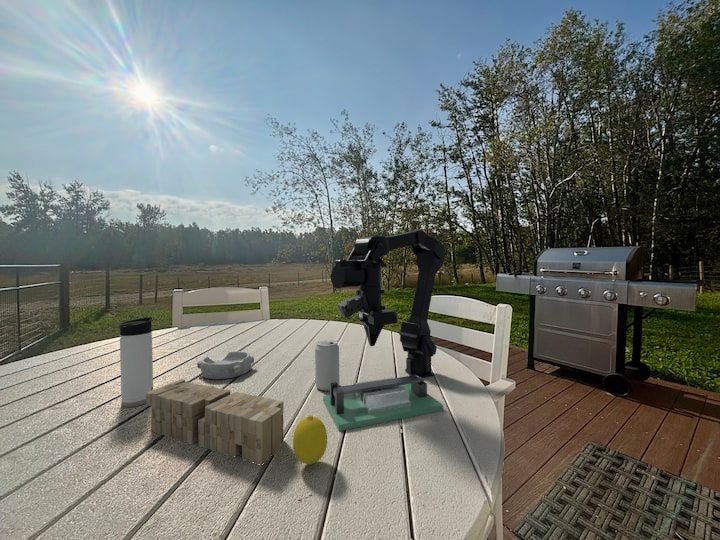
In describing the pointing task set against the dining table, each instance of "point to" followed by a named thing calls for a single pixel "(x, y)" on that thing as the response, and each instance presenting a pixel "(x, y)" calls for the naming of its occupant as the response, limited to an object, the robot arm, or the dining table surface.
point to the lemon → (310, 440)
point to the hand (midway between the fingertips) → (372, 345)
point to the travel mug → (136, 361)
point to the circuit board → (359, 416)
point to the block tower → (218, 419)
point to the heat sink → (379, 397)
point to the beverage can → (326, 364)
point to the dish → (226, 365)
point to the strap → (379, 384)
